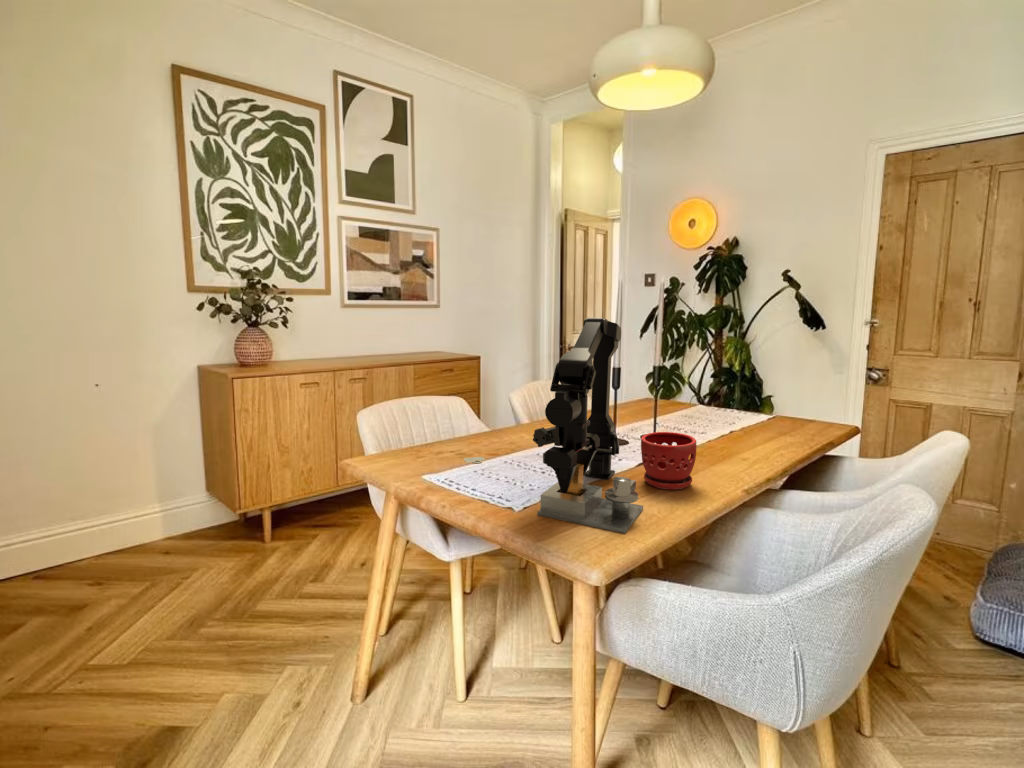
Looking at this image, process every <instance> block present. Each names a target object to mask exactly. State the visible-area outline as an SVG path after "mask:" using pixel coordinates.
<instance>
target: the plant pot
mask: <svg viewBox="0 0 1024 768" xmlns="http://www.w3.org/2000/svg"><path fill="white" fill-rule="evenodd" d="M673 443H675V444H676V445H673ZM640 452H641V460H642V465H643V467H644V470H645V472H644V473H643V478H644V480H645V482H646V483H647V484H649V485H651V486H652V487H655V488H657V489H662V490H677V491H678V490H679V491H680V490H682V489H684V488H687V487H688V486H690V485H691V483H692V482H693V477H692V476H691V473H692V472H693V469H694V466H695V463H696V456H697V439H696V438H695V437H693V436H691V435H689V434H685V433H680V432H675V431H674V432H672V431H657V432H655V431H654V432H649V433H646V434H644V435H642V436H641V438H640Z"/></svg>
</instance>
